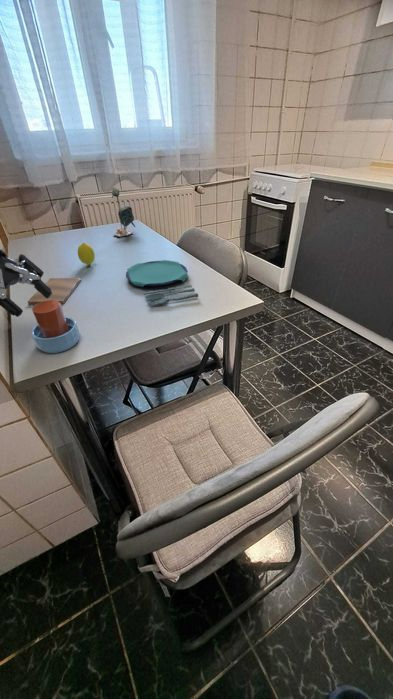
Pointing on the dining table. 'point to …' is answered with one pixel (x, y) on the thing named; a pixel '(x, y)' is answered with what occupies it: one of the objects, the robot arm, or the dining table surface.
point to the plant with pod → (123, 216)
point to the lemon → (86, 254)
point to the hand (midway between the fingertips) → (36, 304)
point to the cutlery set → (159, 279)
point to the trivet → (57, 290)
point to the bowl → (57, 338)
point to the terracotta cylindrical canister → (50, 319)
